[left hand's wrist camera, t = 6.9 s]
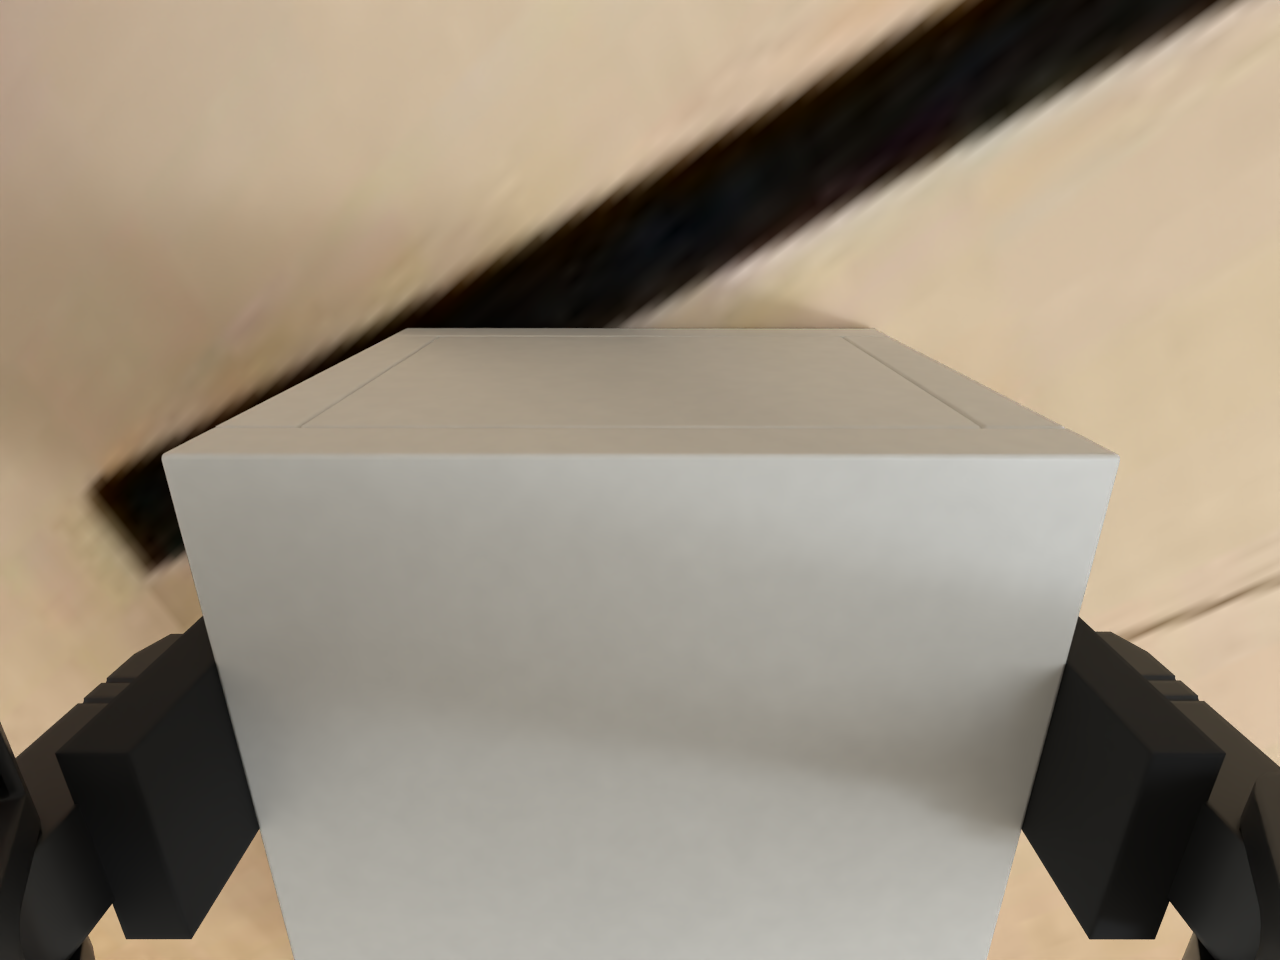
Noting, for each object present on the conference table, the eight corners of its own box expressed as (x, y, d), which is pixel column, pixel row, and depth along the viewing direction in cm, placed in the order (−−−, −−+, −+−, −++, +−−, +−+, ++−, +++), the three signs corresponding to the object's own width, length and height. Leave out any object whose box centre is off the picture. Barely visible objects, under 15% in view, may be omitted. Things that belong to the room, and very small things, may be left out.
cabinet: (799, 956, 23) (882, 1353, 15) (481, 955, 23) (396, 1352, 15) (876, 328, 15) (1125, 455, 7) (405, 327, 15) (157, 453, 7)
